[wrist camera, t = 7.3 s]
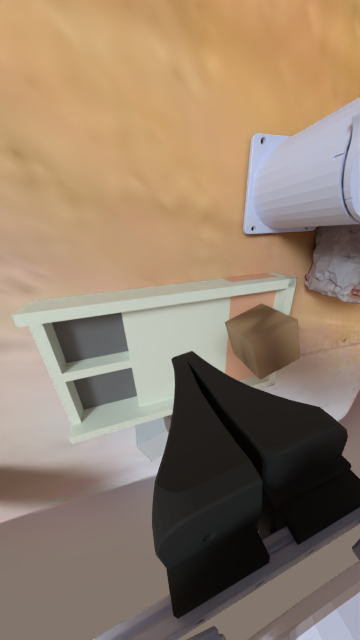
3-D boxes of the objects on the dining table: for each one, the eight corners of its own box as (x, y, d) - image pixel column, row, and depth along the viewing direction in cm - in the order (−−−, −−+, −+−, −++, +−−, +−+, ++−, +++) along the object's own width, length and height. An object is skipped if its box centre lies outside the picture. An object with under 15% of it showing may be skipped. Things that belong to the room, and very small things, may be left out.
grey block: (159, 404, 26) (166, 430, 23) (171, 419, 28) (178, 445, 25) (134, 418, 26) (136, 447, 22) (147, 433, 28) (151, 461, 24)
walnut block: (261, 303, 22) (297, 319, 17) (266, 335, 24) (299, 357, 20) (224, 322, 21) (252, 344, 17) (233, 353, 24) (260, 380, 19)
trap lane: (273, 272, 23) (297, 278, 20) (257, 369, 29) (273, 384, 26) (31, 300, 17) (11, 315, 14) (77, 416, 23) (71, 444, 20)
